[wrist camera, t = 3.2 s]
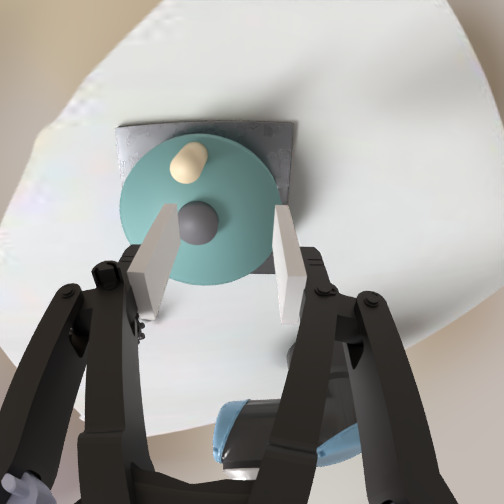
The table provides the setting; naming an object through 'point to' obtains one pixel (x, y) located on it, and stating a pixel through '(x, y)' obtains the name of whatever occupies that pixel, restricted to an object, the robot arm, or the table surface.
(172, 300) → the table surface
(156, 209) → the handwheel
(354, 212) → the table surface
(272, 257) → the wheel stand
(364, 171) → the table surface
